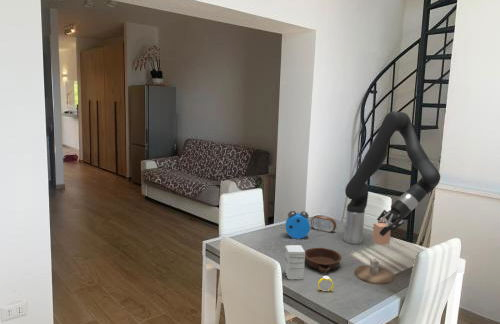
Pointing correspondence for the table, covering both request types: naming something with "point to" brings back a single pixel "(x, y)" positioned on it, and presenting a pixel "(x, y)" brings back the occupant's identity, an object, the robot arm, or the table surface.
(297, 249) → the supplement box
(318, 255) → the dish
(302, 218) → the alarm clock
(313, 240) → the table surface
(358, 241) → the robot arm
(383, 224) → the salmon pink block
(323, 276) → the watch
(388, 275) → the post stand
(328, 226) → the copper desk clock
